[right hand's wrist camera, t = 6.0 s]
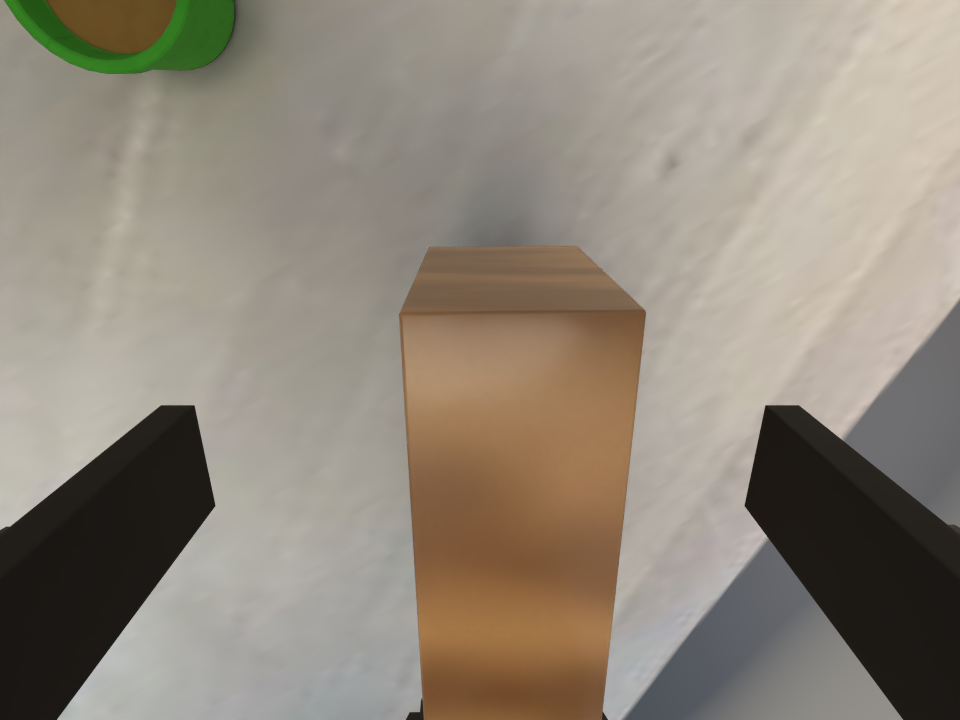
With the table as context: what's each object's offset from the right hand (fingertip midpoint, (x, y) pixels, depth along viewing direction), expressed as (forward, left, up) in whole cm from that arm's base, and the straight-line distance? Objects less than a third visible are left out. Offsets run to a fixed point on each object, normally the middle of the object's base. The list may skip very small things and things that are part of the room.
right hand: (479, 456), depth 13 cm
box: (+9, +1, -12) cm, 15 cm away
